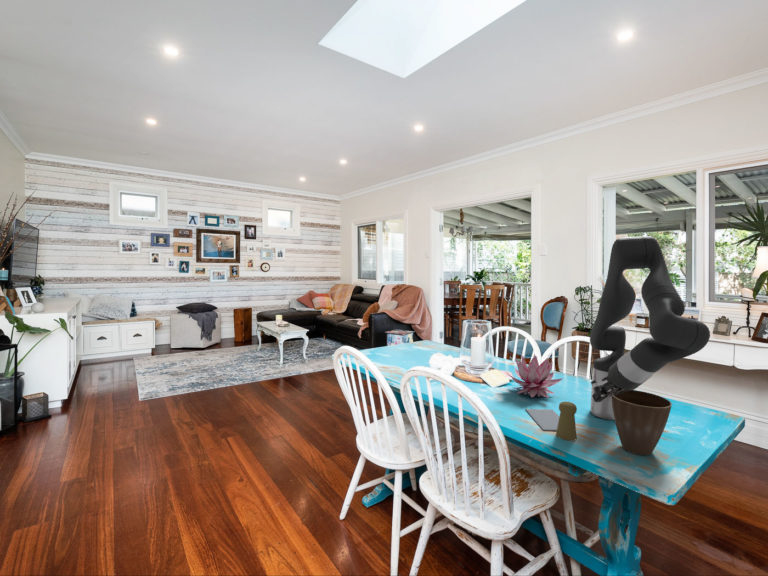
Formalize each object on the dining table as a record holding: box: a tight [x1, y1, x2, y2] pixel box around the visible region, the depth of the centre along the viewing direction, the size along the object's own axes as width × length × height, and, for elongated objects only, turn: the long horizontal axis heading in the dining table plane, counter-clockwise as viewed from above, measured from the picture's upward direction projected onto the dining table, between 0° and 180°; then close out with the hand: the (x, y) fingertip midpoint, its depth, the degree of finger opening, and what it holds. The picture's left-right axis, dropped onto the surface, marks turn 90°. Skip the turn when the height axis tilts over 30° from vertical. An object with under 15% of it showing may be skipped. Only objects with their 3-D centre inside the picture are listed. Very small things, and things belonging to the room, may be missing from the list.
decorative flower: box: [505, 355, 563, 399], centre depth 159 cm, size 21×21×15 cm
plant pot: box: [611, 389, 673, 456], centre depth 112 cm, size 15×15×16 cm
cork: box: [555, 401, 578, 441], centre depth 121 cm, size 6×6×11 cm
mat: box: [525, 408, 560, 432], centre depth 133 cm, size 18×10×1 cm, turn 178°
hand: (595, 399), depth 108 cm, fingers closed
